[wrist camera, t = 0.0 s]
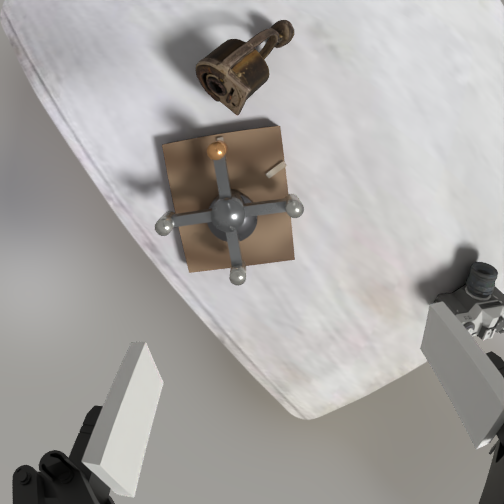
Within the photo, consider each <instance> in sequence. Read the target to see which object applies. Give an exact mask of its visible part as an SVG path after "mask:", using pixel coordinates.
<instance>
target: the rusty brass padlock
mask: <svg viewBox="0 0 504 504" xmlns="http://www.w3.org/2000/svg"><path fill="white" fill-rule="evenodd" d="M293 36H294V29H293V26H292V24H291V23H290V22H289V21H287V20H280V21H278V22H276V23H275V24H274V25H273V26H272V27H271V28H269V29H266V30H264V31H262V32H260V33H259V34H257V35H256V36H254V37H253V38H251V39H250V40H249V41H247V42H244V41H241V40H238V39H230V40H227V41H226V42H224V43H223V44H221V45H220V46H219V47H218V48H216V49H215V50H214V51H213V52H211V53H210V54H209V55H208V56H206V57H205V58H204V59H202V60H200V61H199V62H198V63H197V65H196V75H197V77H198V79H199V81H200V83H201V85H202V86H203V88H204V89H205V91H206V92H207V93H208V94H209V95H210V96H211V97H212V98H213V99H214V100H216V101H220V102H221V103H222V104H224V105H225V106H226V107H227V108H229V109H230V110H231V111H232V112H233V113H235V114H236V115H239V114H240V112H241V110H242V108H243V106H244V104H245V102H246V100H247V99H248V98H249V97H250V96H251V95H252V94H253V93H254V92H255V91H256V90H257V89H258V88H260V87H261V86H262V85H263V84H264V83H265V82H266V81H267V80H268V78H269V69H268V66H267V64H266V62H265V60H264V59H265V58H266V57H267V56H268V55H269V53H270V52H271V51H272V49H273V48H274V47H276V48H280V47H282V46H284V45H286V44H288V43H289V42H290V41H291V40H292V38H293ZM268 37H269V39H268V41H267V43H266V44H265V46H264V47H263V48H262V50H261V51H260V52H258V51H257V50H256V49H255V48H256V47H257V46H258V45H260V44H261V43H262V42H263V41H265V40H266V39H267V38H268Z"/></svg>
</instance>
